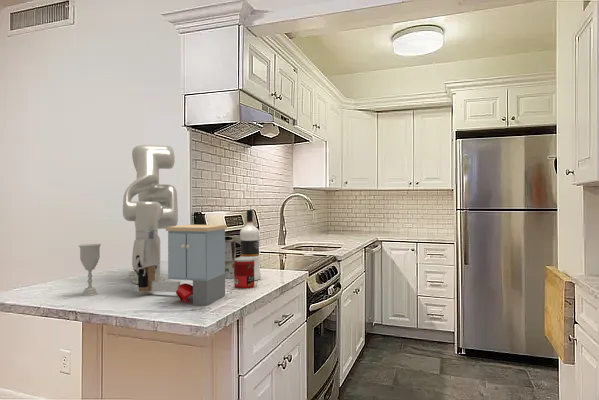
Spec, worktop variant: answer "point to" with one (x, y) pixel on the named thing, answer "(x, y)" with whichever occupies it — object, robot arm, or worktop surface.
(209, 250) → the cabinet
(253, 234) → the vodka
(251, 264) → the canned food
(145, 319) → the worktop surface
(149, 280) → the blade tool
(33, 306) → the worktop surface
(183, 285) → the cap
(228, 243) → the coffee box
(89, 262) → the chalice
